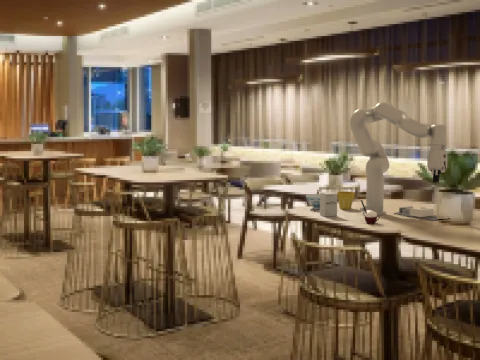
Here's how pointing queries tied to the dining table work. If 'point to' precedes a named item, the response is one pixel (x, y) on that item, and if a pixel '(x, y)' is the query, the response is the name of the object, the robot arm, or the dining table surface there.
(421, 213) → the lock clasp
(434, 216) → the mat
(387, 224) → the dining table surface
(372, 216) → the cocoa
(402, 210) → the tongs fixed arm
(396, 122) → the robot arm
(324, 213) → the supplement box
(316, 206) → the chinaware
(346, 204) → the plant pot
